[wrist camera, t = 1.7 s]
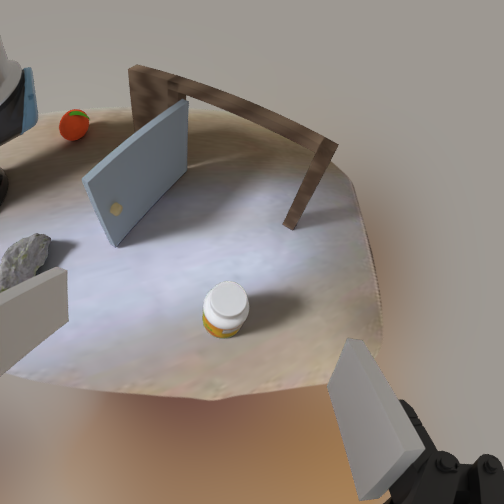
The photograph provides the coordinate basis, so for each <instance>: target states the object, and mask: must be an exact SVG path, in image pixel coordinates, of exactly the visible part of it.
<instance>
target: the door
mask: <svg viewBox="0 0 504 504" xmlns="http://www.w3.org/2000/svg"><path fill="white" fill-rule="evenodd" d="M188 106H189V101H186V100H184V99H181V100H180V101H178V102H177V103H175V104H174V105H173V106H171V107H170V108H168V109H167V110H165V111H164V112H162V113H161V114H160V115H158V116H157V117H155V118H154V119H153V120H151V121H150V122H149V123H147V124H146V125H145V126H143V127H142V128H141V129H139V130H138V131H137V132H135V133H134V134H133V135H132V136H130V137H129V138H128V139H127V140H125V141H124V142H123V143H122V144H120V145H119V146H118V147H117V148H116V149H114V150H113V151H112V152H111V153H110V154H109V155H107V156H106V157H105V158H104V159H103V160H102V161H100V162H99V163H98V164H97V165H96V166H95V167H94V168H93V169H92V170H91V171H89V172H88V173H87V174H86V175H85V176H84V177H83V178H82V182H83V184H84V187H85V189H86V192H87V194H88V196H89V199H90V201H91V203H92V206H93V208H94V210H95V212H96V215H97V217H98V219H99V221H100V223H101V226H102V228H103V230H104V232H105V234H106V236H107V238H108V240H109V242H110V244H111V245H112V246H114V247H115V248H116V247H117V245H118V244H119V243H120V242H121V241H122V240H123V238H124V237H125V236H126V235H127V234H128V233H129V231H130V230H131V229H132V228H133V227H134V226H135V225H136V224H137V222H138V221H139V220H140V219H141V218H142V217H143V216H144V215H145V214H146V212H147V211H148V210H149V209H150V208H151V207H152V206H153V205H154V204H155V203H156V202H157V201H158V200H159V199H160V197H161V196H162V195H163V194H164V193H165V192H166V191H167V190H168V189H169V188H170V187H171V186H172V185H173V184H174V183H175V182H176V181H177V180H178V179H179V178H180V177H181V176H182V175H183V174H184V173H185V172H186V171H187V139H188Z"/></svg>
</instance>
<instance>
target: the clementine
mask: <svg viewBox="0 0 504 504" xmlns="http://www.w3.org/2000/svg"><path fill="white" fill-rule="evenodd" d="M89 120H90V119H89V117H88V116H87V114H86V113H85V112H83V111H82V110H78V109H74V110H70V111H68V112H67V113H66V114H65V115H64V116H63V117H62V119H61V121H60V125H59V130H60V133H61V135H62V136H63V137H64V138H65V139H67V140H69V141H74V140H78V139H80V138H81V137H83V136H84V135H85V133H86V132H87V130H88V127H89Z"/></svg>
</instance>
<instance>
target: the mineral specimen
mask: <svg viewBox="0 0 504 504" xmlns="http://www.w3.org/2000/svg"><path fill="white" fill-rule="evenodd" d="M50 242H51V238H50V237H48V236H46V235H45V234H38V233H36V234H33V235H32V236H30V237H27V238H23V239H21V240H20V241H18V242H16V243H15V244H13V245H12V246H11V247H10V248H8V250H7V251H6V252H5V254H4V256H3V257H2V263H1V265H0V293H1V292H3V291H5V290H7V289H9V288H11V287H13V286H16V285H18V284H20V283H22V282H24V281H26V280H28V279H30V278H32V277H34V276H36V271H37V270H38V268H39V267H40V266H42V265H44V262H45V260H46V259H47V256H48V246H49V243H50Z"/></svg>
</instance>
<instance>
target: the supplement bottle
mask: <svg viewBox="0 0 504 504" xmlns="http://www.w3.org/2000/svg"><path fill="white" fill-rule="evenodd" d="M248 313H249V301H248V298H247V294H246V292H245V290H244V289H243V287H242V286H240V285H239V284H238V283H235V282H232V281H225V282H221V283H219V284H218V285H216V286H215V287H214V288H213V289H211V290H210V291H209V292H208V293H207V295H206V297H205V299H204V303H203V325H204V328H205V329H206V331H207V332H208V333H209V334H210V335H212V336H213V337H216V338H220V339H225V338H230V337H232V336H234V335H235V334H236V333H237V332H238V331H239V329H240V328H241V326H242V325H243V323H244V321H245V320H246V318H247V316H248Z"/></svg>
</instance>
